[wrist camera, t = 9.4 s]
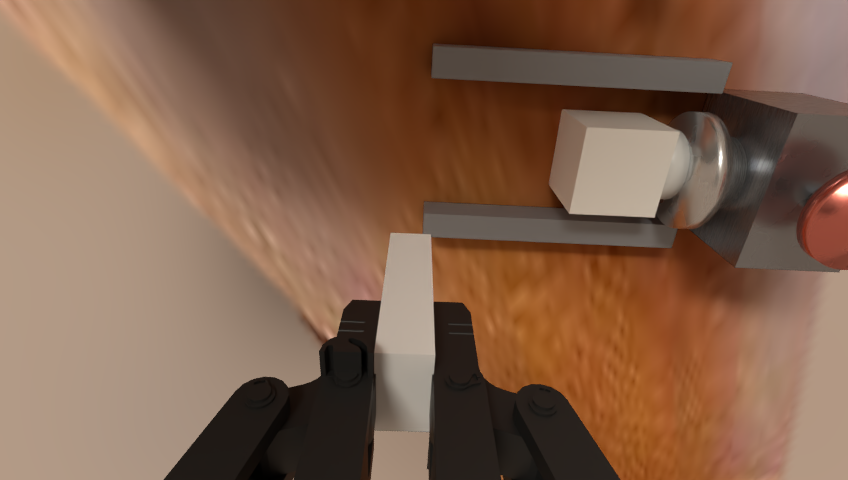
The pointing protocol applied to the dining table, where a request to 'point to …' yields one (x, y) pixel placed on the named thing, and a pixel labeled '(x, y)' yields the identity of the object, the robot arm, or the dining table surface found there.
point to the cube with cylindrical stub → (616, 163)
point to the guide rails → (573, 72)
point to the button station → (766, 180)
